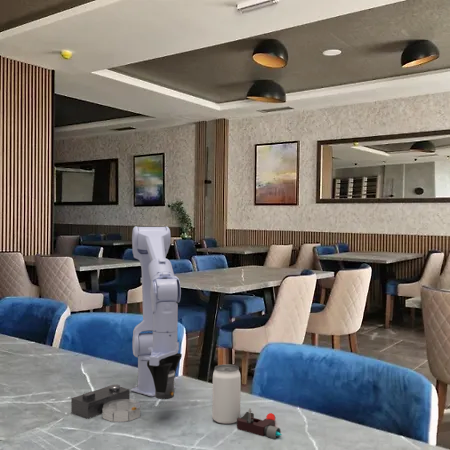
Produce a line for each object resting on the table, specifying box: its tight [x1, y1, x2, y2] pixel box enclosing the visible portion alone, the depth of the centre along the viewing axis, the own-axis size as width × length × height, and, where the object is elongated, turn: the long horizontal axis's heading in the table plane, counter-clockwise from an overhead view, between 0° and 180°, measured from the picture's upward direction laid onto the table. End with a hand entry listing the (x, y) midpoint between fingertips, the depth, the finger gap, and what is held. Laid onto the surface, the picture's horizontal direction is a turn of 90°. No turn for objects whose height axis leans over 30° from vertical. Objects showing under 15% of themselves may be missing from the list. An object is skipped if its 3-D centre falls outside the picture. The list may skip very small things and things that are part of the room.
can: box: [211, 363, 242, 425], centre depth 125 cm, size 6×6×12 cm
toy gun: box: [236, 408, 283, 440], centre depth 120 cm, size 10×12×5 cm
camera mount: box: [70, 384, 141, 423], centre depth 129 cm, size 13×15×4 cm
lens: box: [154, 368, 176, 400], centre depth 125 cm, size 5×5×6 cm
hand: (164, 388), depth 126 cm, fingers closed on lens, 4 cm apart
